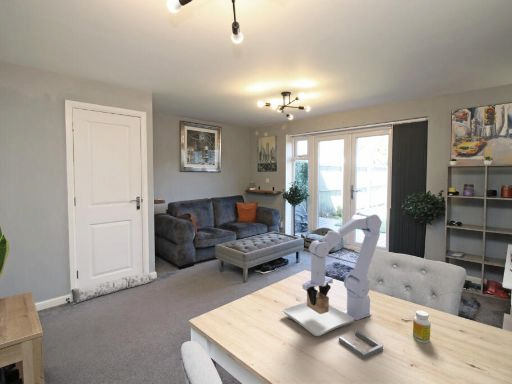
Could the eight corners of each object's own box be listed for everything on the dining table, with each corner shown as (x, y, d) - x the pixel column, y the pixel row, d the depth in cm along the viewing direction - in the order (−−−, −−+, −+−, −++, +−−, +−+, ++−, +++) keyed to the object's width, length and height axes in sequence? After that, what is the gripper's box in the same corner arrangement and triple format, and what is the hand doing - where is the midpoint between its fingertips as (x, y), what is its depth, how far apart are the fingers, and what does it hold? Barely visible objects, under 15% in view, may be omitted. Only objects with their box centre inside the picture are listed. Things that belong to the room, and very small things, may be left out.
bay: (357, 333, 104) (357, 330, 104) (382, 350, 94) (383, 345, 94) (338, 341, 99) (338, 337, 99) (364, 359, 90) (364, 354, 90)
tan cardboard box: (315, 303, 118) (315, 289, 117) (328, 311, 111) (328, 297, 110) (306, 305, 115) (307, 292, 115) (320, 314, 108) (320, 299, 108)
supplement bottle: (424, 344, 98) (425, 318, 97) (409, 336, 102) (410, 311, 102) (433, 340, 100) (434, 314, 99) (418, 332, 105) (419, 308, 104)
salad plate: (355, 326, 110) (355, 317, 110) (316, 343, 99) (316, 334, 99) (317, 304, 128) (317, 297, 128) (281, 317, 117) (281, 309, 117)
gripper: (310, 276, 105) (310, 311, 106) (338, 270, 112) (337, 303, 113) (299, 271, 111) (298, 303, 112) (326, 265, 118) (325, 296, 119)
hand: (317, 303), depth 113 cm, fingers closed on tan cardboard box, 4 cm apart
